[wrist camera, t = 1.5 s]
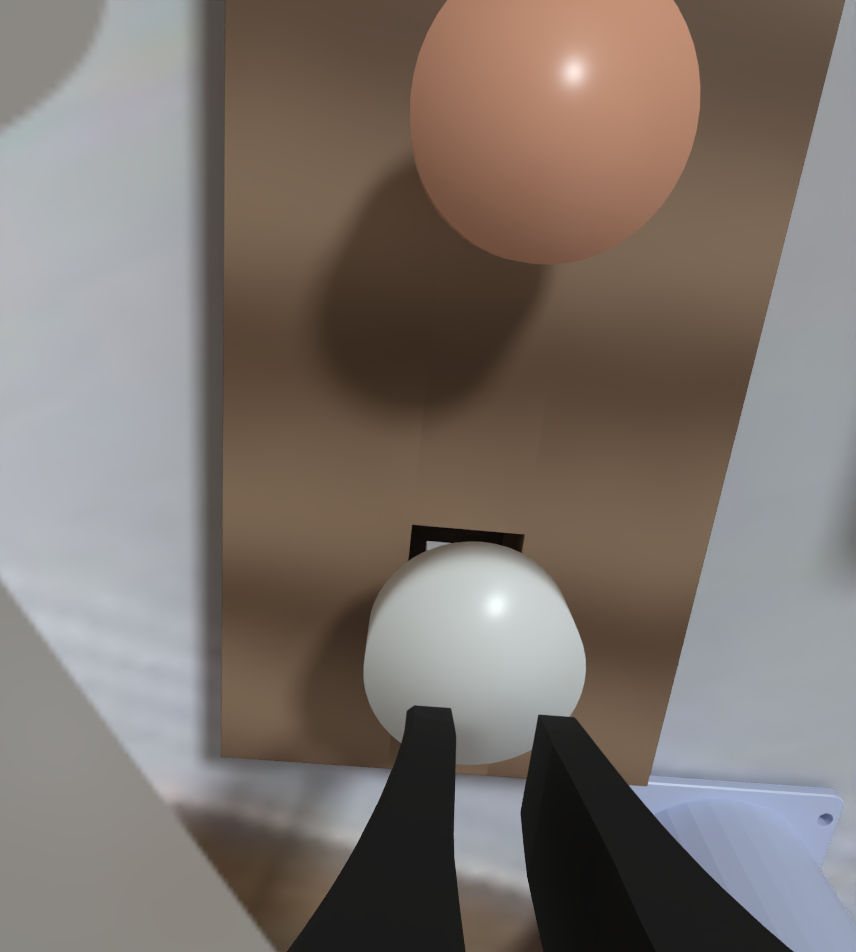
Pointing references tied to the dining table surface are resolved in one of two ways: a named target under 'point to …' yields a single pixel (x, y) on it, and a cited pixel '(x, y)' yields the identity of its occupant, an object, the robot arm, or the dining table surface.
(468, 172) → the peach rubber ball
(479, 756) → the white egg
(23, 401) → the dining table surface
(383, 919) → the robot arm
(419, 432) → the board
